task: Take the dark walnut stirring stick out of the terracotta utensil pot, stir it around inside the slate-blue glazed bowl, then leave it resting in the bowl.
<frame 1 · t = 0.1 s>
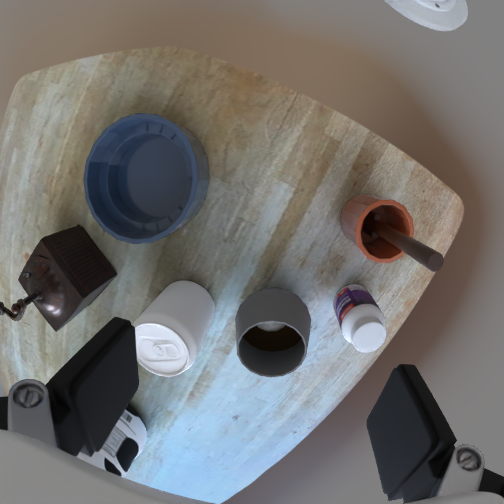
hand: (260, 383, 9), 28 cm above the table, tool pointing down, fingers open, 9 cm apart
utensil pot: (364, 220, 35), on the table
manual coffee grinder: (75, 274, 41), on the table
stirring stick: (366, 220, 34), point 1 cm above the table, touching utensil pot
pill bottle: (351, 300, 38), on the table
beverage can: (188, 304, 40), on the table
milk container: (115, 413, 50), on the table
cup: (273, 309, 39), on the table
bowl: (155, 177, 36), on the table
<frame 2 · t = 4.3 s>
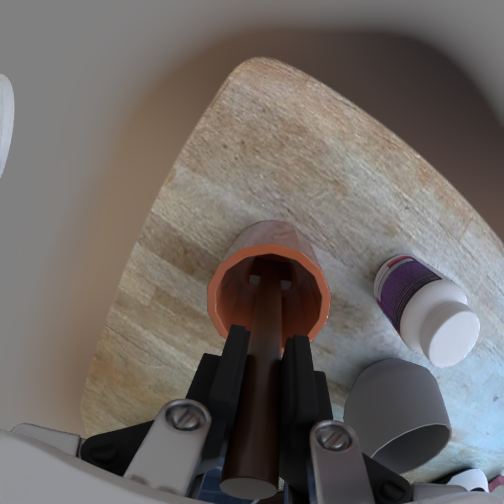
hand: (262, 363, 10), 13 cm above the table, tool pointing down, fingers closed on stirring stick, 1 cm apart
utensil pot: (271, 261, 23), on the table
apple: (494, 479, 33), on the table
stirring stick: (271, 264, 22), point 1 cm above the table, touching gripper, utensil pot
pill bottle: (399, 282, 23), on the table
milk container: (443, 485, 32), on the table
cup: (381, 379, 25), on the table
bowl: (205, 454, 30), on the table
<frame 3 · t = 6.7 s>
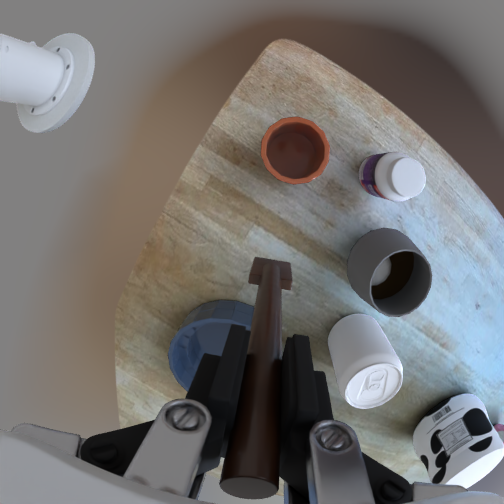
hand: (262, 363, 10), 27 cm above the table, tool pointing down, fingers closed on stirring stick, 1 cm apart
utensil pot: (291, 155, 34), on the table
apple: (492, 428, 45), on the table
stirring stick: (271, 263, 22), point 15 cm above the table, touching gripper
pill bottle: (376, 175, 34), on the table
beverage can: (353, 334, 40), on the table
milk container: (443, 415, 44), on the table
cup: (373, 257, 36), on the table
bowl: (230, 344, 42), on the table
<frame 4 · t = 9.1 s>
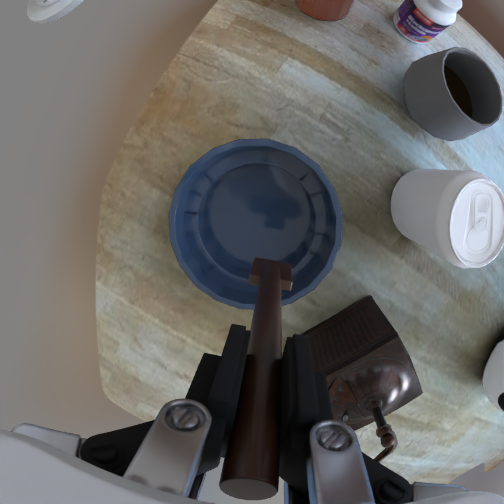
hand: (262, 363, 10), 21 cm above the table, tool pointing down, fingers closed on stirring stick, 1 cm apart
utensil pot: (323, 0, 23), on the table
manual coffee grinder: (357, 357, 34), on the table
stirring stick: (271, 264, 22), point 9 cm above the table, touching gripper
pill bottle: (411, 27, 22), on the table
beverage can: (418, 204, 28), on the table
cup: (425, 104, 25), on the table
bowl: (258, 218, 30), on the table
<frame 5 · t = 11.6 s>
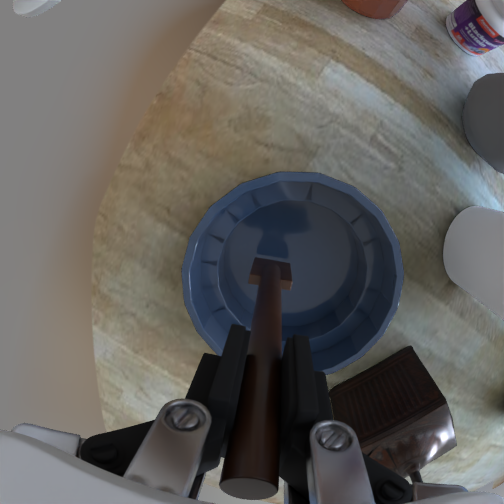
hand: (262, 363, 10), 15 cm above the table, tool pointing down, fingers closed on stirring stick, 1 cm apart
manual coffee grinder: (387, 405, 28), on the table
stirring stick: (271, 264, 22), point 2 cm above the table, touching gripper
pill bottle: (463, 36, 17), on the table
beverage can: (469, 245, 23), on the table
cup: (481, 128, 19), on the table
bowl: (291, 264, 24), on the table
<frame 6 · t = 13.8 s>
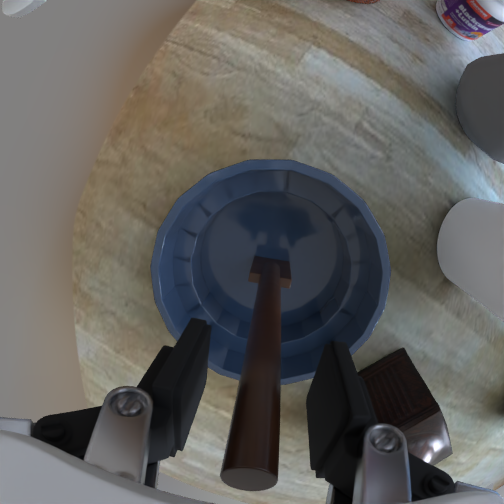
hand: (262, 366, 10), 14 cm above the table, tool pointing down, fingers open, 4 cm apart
manual coffee grinder: (380, 410, 27), on the table
stirring stick: (271, 262, 23), point 1 cm above the table, touching bowl
pill bottle: (455, 21, 15), on the table
beverage can: (465, 240, 21), on the table
cup: (476, 115, 18), on the table
bowl: (272, 260, 23), on the table
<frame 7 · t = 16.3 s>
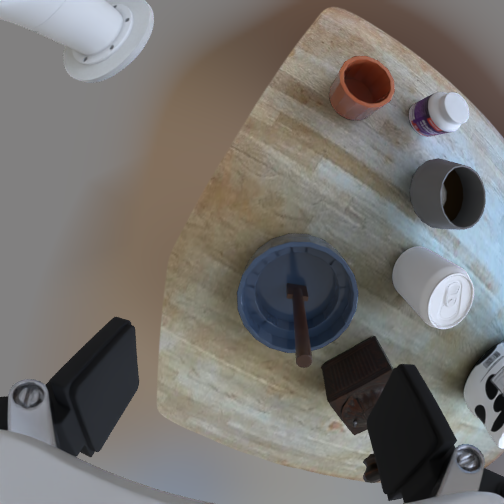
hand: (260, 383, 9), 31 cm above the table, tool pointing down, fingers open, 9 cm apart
utensil pot: (352, 98, 34), on the table
manual coffee grinder: (363, 378, 44), on the table
stirring stick: (296, 286, 40), point 1 cm above the table, touching bowl
pill bottle: (422, 119, 33), on the table
beverage can: (413, 270, 39), on the table
milk container: (488, 369, 42), on the table
cup: (426, 191, 36), on the table
bowl: (296, 285, 41), on the table
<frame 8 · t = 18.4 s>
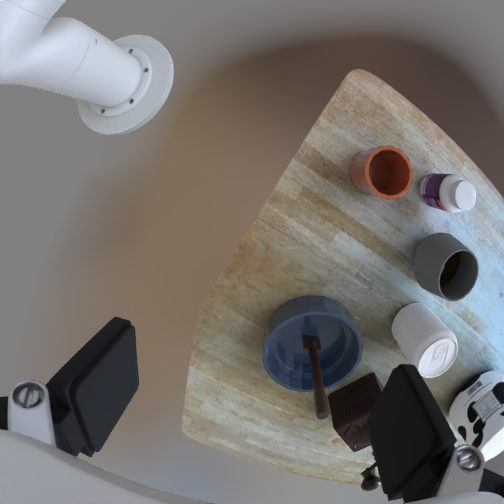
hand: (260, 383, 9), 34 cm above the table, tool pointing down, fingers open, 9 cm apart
utensil pot: (370, 172, 39), on the table
manual coffee grinder: (362, 404, 50), on the table
stirring stick: (310, 337, 46), point 1 cm above the table, touching bowl
pill bottle: (431, 190, 39), on the table
beverage can: (410, 321, 44), on the table
milk container: (472, 392, 48), on the table
cup: (427, 255, 41), on the table
bowl: (310, 335, 46), on the table
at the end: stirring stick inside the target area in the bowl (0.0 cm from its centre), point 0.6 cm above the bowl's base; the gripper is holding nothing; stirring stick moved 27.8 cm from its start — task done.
